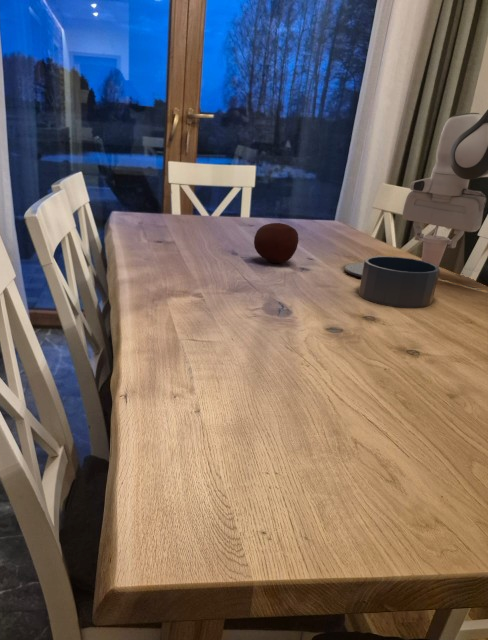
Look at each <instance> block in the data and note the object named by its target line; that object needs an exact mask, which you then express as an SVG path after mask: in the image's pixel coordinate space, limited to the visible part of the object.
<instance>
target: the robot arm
mask: <svg viewBox="0 0 488 640" xmlns="http://www.w3.org/2000/svg"><path fill="white" fill-rule="evenodd" d="M435 156H436V159H435V160H436V161H435V163H434V166H433V168H432V171H431V175H430V177H426V178H422V179H418V180H414V181H411V183H410V185H409V190H410V192H409V193H408V194H407V196H406V198H405V202H404V205H403V209H402V217H403V220H406V221H410V222H413V224H412V226H413V230H414V233H415V234H414V241H419V242H422V241H423V236H425V233H423V232H422V227H423V226H424V224H426V225H431V226H435V227H436V226H438V227H442V228H447V229H451V230H454V231H453V235H454V236H453V237H452V238H451V239H449V240H448V242H447V246H446V248H450V249H455V248H457V243H458V241H459V240H460V239H461V238H462V237H463V236H464V234H465V232H467V233H475V232H478V230H480V229H481V226H482V222H483V217H484V209H485V207H486V203H487V196H486V195H485V194H484V192H483V191H481V190H474V189H468V188H469V185H470V184H469V183H470V180H475V179H479V178H480V179H481V178H488V109H487V110H486V111H485V112H484V114H482V113H480V112H466V113H465V112H463V113H458V114H454V115H452V116H451V117H449V118H447V120H446V121H445V123H444V126H443V128H442V130H441V134H440V136H439V140H438V145H437V148H436V153H435Z"/></svg>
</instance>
